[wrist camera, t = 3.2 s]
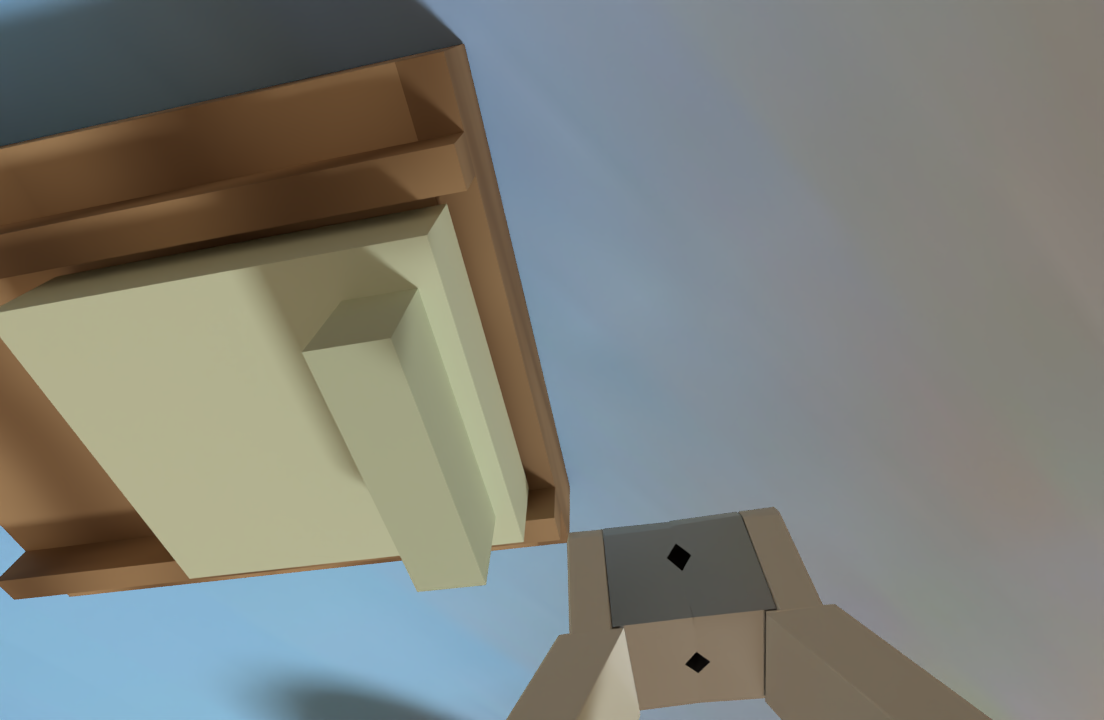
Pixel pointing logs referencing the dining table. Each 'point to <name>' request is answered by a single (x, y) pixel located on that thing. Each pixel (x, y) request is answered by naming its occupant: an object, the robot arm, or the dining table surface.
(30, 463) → the board
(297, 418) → the cover
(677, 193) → the dining table surface
